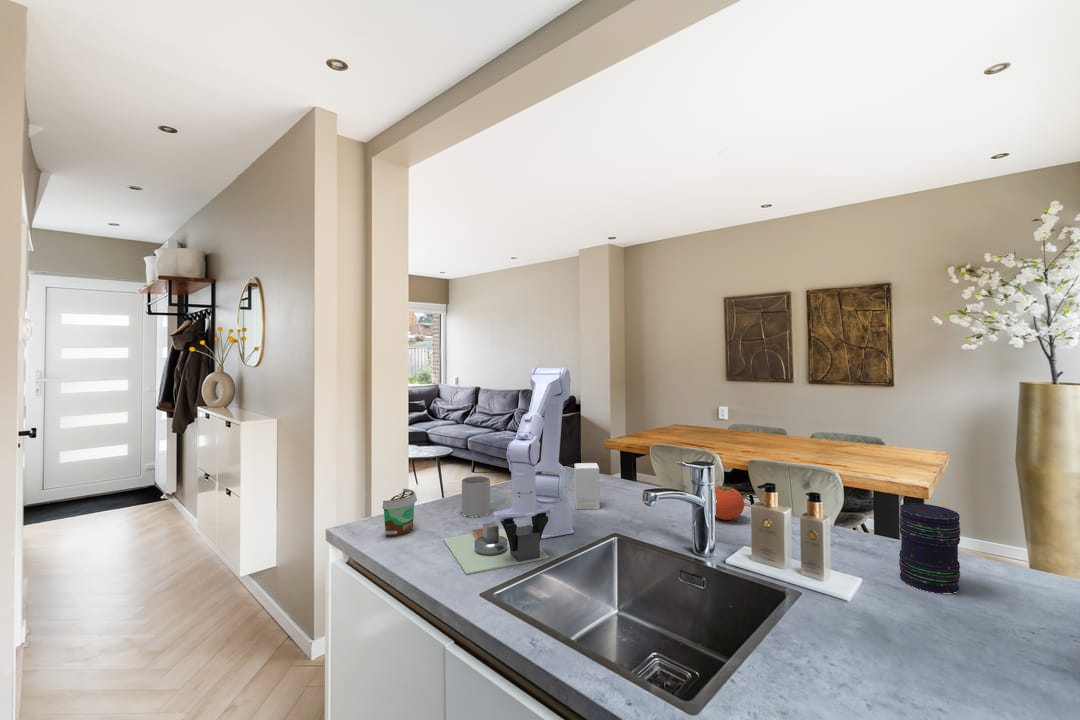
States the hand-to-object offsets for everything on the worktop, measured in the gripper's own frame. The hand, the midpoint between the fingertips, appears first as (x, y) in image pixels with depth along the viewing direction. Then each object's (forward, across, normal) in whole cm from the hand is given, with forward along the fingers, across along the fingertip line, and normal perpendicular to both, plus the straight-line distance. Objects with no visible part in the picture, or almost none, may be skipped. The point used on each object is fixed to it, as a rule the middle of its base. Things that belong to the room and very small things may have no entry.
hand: (524, 547), depth 118 cm
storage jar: (+2, +70, -48) cm, 85 cm away
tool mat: (+2, -5, +8) cm, 10 cm away
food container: (+2, -23, +30) cm, 38 cm away
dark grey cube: (+2, 0, 0) cm, 2 cm away
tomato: (+2, +61, -1) cm, 61 cm away
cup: (+3, -1, +36) cm, 36 cm away
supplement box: (+2, +32, +27) cm, 42 cm away
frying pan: (+2, -6, +11) cm, 12 cm away
